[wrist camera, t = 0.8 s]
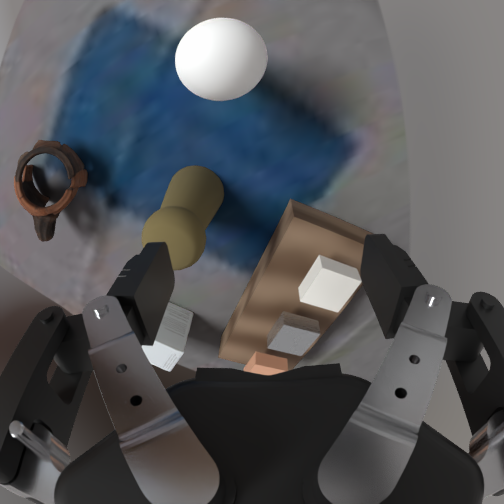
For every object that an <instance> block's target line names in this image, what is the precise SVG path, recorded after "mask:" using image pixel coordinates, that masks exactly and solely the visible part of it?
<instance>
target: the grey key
mask: <svg viewBox="0 0 504 504" xmlns="http://www.w3.org/2000/svg"><path fill="white" fill-rule="evenodd" d="M319 335H320V328H319V322H318V320H314V319H310V318H307V317H303V316H299V315H296V314H292V313H289V312H285V311H283V312H282V314H281V315H280V317H279V318H278V320H277V321H276V322H275V324H274V325H273V327H272V328H271V330H270V331H269V333H268V334H267V348H268V349H273V350H277V351H281V352H285V353H290V354H294V355H298V356H302V355H303V354H304V353H305V352H306V350H307V349H308V348H309V347H310V346H311V345H312V343H313V342H314V341H315V340H316V339H317V338H318V336H319Z"/></svg>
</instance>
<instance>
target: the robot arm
mask: <svg viewBox="0 0 504 504" xmlns="http://www.w3.org/2000/svg"><path fill="white" fill-rule="evenodd" d="M360 275H361V281H362V284H363V286H364V288H365V291H366V293H367V295H368V297H369V300H370V302H371V304H372V307H373V309H374V312H375V314H376V316H377V319H378V321H379V324H380V326H381V329H382V331H383V334H384V336H385V339H390V338H394V340H393V342H392V344H391V346H390V348H389V350H388V352H387V354H386V356H385V358H384V360H383V362H382V364H381V366H380V368H379V370H378V372H377V374H376V376H375V378H374V380H373V382H372V383H371V382H369V381H367V380H365V379H362V378H359V377H356V376H353V375H348V374H342V372H341V368H340V363H338V364H327V365H315V366H304V367H300V368H297V369H293V370H289V371H285V372H281V373H277V374H273V375H262V374H257V373H251V372H246V371H241V370H237V369H232V368H197V371H196V377H195V378H192V379H188V380H184V381H182V382H179V383H176V384H174V385H172V386H170V387H168V388H167V389H165V388H164V387H163V385H162V383H161V382H160V380H159V378H158V376H157V374H156V373H155V371H154V369H153V367H152V366H151V364H150V362H149V360H148V358H147V356H146V355H145V353H144V351H143V349H142V345H145V346H153V344H154V341H155V339H156V336H157V333H158V330H159V327H160V324H161V322H162V319H163V316H164V313H165V310H166V308H167V305H168V302H169V300H170V297H171V294H172V292H173V289H174V283H175V278H174V272H173V268H172V263H171V259H170V254H169V250H168V246H167V244H166V242H149V243H147V244H146V245H145V247H144V248H143V250H142V251H141V253H140V255H135V256H134V257H133V258H132V259H130V260H129V261H128V262H127V263H126V265H125V266H124V268H123V271H121V273H120V274H119V277H117V279H116V280H115V282H114V284H113V285H112V287H111V288H110V290H109V292H108V293H107V295H106V296H101V297H98V298H96V299H93V300H92V301H90V302H89V303H88V304H87V305H86V306H85V307H84V309H83V312H82V314H78V315H73V316H68V317H66V315H65V313H64V311H63V309H62V308H60V307H58V306H52V307H48V308H46V309H44V310H42V311H41V312H39V313H38V314H37V315H36V317H35V318H34V319H33V321H32V323H31V324H30V326H29V327H28V329H27V331H26V332H25V334H24V336H23V337H22V339H21V340H20V342H19V344H18V346H17V347H16V349H15V351H14V352H13V354H12V356H11V358H10V359H9V361H8V363H7V365H6V367H5V369H4V371H3V372H2V374H1V376H0V485H1V486H3V487H4V488H6V489H8V490H10V491H11V492H13V493H15V494H17V495H19V496H21V497H24V498H26V499H28V500H30V501H32V502H34V503H36V504H482V500H483V499H484V498H486V497H489V496H490V495H493V496H499V495H502V494H504V308H503V306H502V305H501V303H500V302H499V301H498V300H497V299H496V298H495V297H494V296H492V295H490V294H488V293H485V292H476V293H474V294H473V295H472V297H471V299H470V301H469V303H462V302H454V301H452V299H451V297H450V295H449V294H448V293H447V292H446V291H445V290H444V289H442V288H440V287H438V286H435V285H430V284H428V283H427V281H426V280H425V278H424V277H423V275H422V274H421V272H420V271H419V270H418V268H417V267H415V264H414V263H413V261H411V258H410V257H409V256H408V254H407V253H406V252H405V251H404V250H402V249H401V248H399V247H398V246H397V245H393V244H392V243H391V242H390V240H389V239H388V238H387V236H386V235H385V234H367V235H366V237H365V241H364V248H363V255H362V261H361V268H360ZM483 347H484V348H485V350H486V351H487V354H488V355H489V358H490V362H491V366H490V370H489V371H488V369H487V367H486V364H485V362H484V360H483V358H482V356H481V354H480V352H481V351H482V349H483ZM53 359H54V360H55V362H56V363H57V365H58V366H57V368H56V370H55V372H54V374H53V377H52V379H51V381H50V384H48V382H47V371H48V368H49V366H50V364H51V362H52V360H53ZM442 360H446V362H447V365H448V367H449V370H450V372H451V375H452V377H453V380H454V383H455V385H456V388H457V391H458V393H459V396H460V399H461V402H462V405H463V408H464V411H465V414H466V417H467V420H468V423H469V426H470V429H471V433H472V438H471V441H470V444H469V453H466V452H465V451H464V450H462V449H461V448H459V447H458V446H457V445H455V444H454V443H452V442H451V441H450V440H448V439H447V438H445V437H444V436H443V435H441V434H440V433H439V432H437V431H436V430H435V429H433V428H432V427H430V426H429V425H427V424H426V423H425V422H424V421H423V418H424V415H425V412H426V409H427V407H428V404H429V402H430V399H431V396H432V393H433V390H434V387H435V384H436V380H437V377H438V373H439V370H440V367H441V363H442ZM92 370H94V373H95V376H96V379H97V382H98V385H99V388H100V391H101V393H102V396H103V399H104V402H105V405H106V407H107V410H108V412H109V415H110V417H111V420H112V422H113V425H114V427H115V430H114V431H112V432H111V433H110V434H109V435H107V436H106V437H105V438H103V439H102V440H101V441H99V442H98V443H97V444H95V445H94V446H93V447H92V448H90V449H89V450H88V451H86V452H85V453H84V454H82V455H81V456H80V457H78V458H77V459H75V461H73V462H70V454H69V451H68V449H67V445H68V441H69V438H70V435H71V431H72V428H73V425H74V422H75V418H76V415H77V412H78V409H79V406H80V403H81V400H82V398H83V395H84V392H85V389H86V386H87V384H88V381H89V378H90V375H91V373H92Z"/></svg>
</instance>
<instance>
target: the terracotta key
mask: <svg viewBox="0 0 504 504" xmlns="http://www.w3.org/2000/svg"><path fill="white" fill-rule="evenodd" d="M244 371H246V372H251V373H257V374H262V375H273V374H277V373H281V372H285V371H288V363H287V359H286V358H282V357H277V356H273V355H269V354H265V353H260V352H255V353H254V355H253V356H252V357H251V359H250V360H249V362H248V363H247V364H246V366H245V367H244Z"/></svg>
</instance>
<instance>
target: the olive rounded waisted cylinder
mask: <svg viewBox="0 0 504 504" xmlns="http://www.w3.org/2000/svg"><path fill="white" fill-rule="evenodd" d="M223 198H224V188H223V184H222V182H221V180H220V179H219V177H218V176H217V175H216V174H215V173H214V172H213V171H211V170H209V169H207V168H205V167H201V166H188V167H185V168H183V169H181V170H179V171H178V172H177V173H176V174H175V175H174V176H173V177H172V180H171V182H170V184H169V186H168V189H167V192H166V194H165V197H164V200H163V203H162V205H161V208H160V210H158V211H156V212H154V213H153V214H152V215H151V216H150V217H149V218H148V220H147V221H146V223H145V225H144V228H143V231H142V245H143V248H144V247H145V245H146V244H147V243H149V242H166V244H167V246H168V250H169V254H170V259H171V263H172V268H173V270H182V269H184V268H187V267H190V266H192V265H193V264H194V263H196V262H197V261H198V259H199V258H200V257H201V255H202V253H203V252H204V248H205V243H206V234H205V230H206V228H207V226H208V225H209V223H210V222H211V220H212V218H213V217H214V215H215V214H216V212H217V210H218V209H219V207H220V206H221V204H222V202H223Z"/></svg>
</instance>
